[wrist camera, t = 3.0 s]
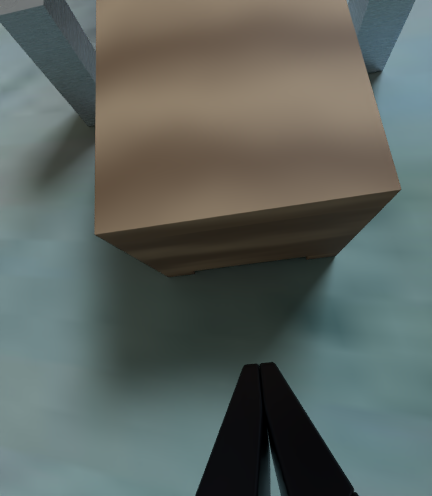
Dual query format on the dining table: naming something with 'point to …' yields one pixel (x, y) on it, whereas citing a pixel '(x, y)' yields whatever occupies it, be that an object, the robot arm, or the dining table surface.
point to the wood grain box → (234, 132)
